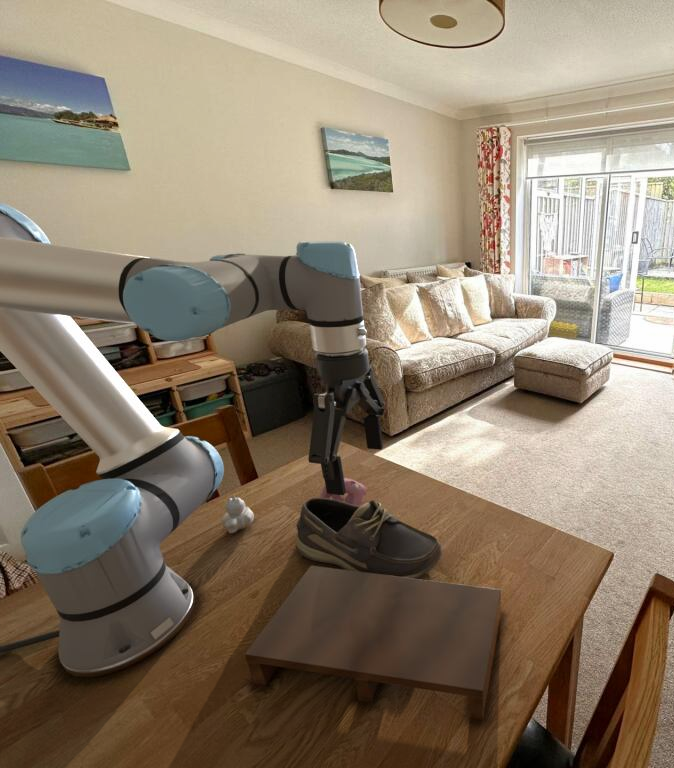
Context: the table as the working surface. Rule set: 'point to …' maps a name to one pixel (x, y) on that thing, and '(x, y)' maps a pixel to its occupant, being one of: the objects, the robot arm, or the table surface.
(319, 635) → the small wooden pallet
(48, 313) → the robot arm
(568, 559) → the table surface
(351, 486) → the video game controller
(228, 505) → the white lobed figurine
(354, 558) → the boat shoe
